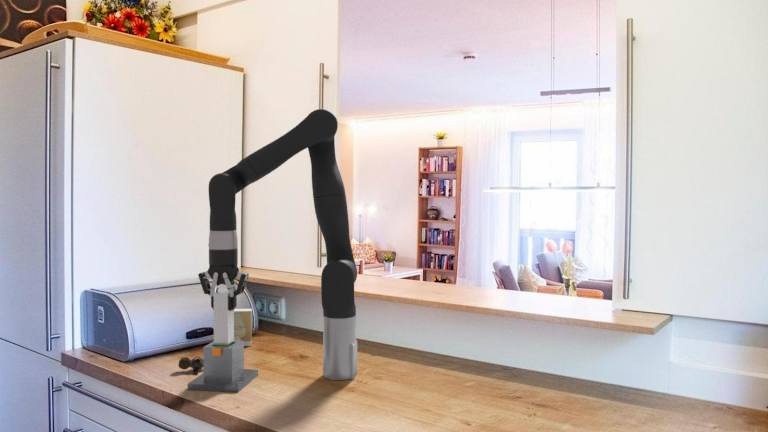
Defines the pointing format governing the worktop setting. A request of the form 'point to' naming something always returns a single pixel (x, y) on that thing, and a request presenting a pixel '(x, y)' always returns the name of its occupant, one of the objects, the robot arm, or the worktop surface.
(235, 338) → the skincare box
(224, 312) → the column
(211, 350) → the stand base
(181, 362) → the regulator
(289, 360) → the worktop surface
